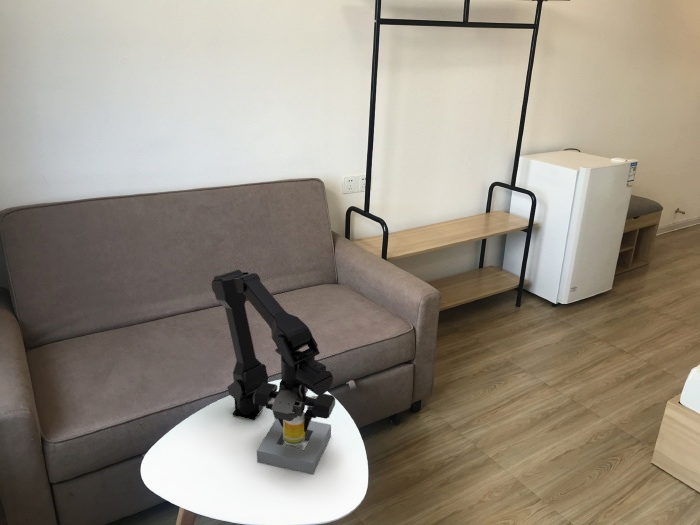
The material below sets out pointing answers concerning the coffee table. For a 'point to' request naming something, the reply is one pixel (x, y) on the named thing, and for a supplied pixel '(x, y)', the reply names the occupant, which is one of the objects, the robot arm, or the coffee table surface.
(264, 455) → the socket block
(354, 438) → the coffee table surface
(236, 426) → the coffee table surface
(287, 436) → the supplement bottle
